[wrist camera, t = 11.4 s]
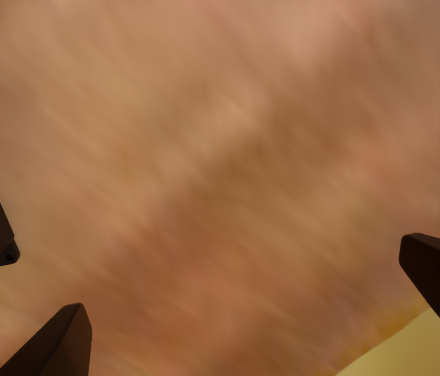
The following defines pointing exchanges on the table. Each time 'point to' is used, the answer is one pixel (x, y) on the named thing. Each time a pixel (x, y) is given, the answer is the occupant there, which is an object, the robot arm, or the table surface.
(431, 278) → the robot arm
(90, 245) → the table surface
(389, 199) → the table surface
